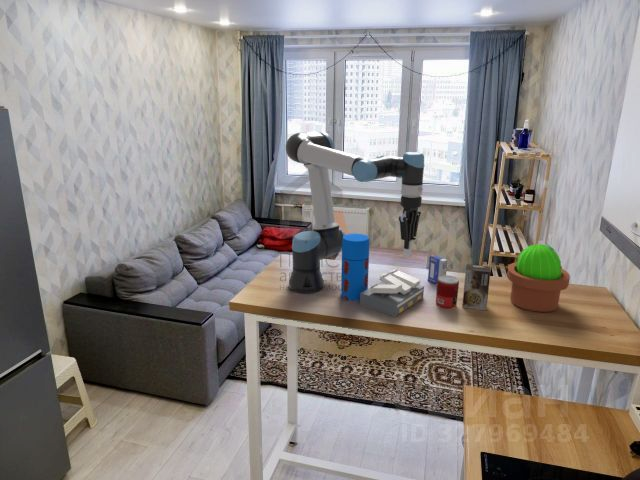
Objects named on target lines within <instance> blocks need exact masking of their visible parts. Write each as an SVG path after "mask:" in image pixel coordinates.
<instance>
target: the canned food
mask: <svg viewBox="0 0 640 480" xmlns="http://www.w3.org/2000/svg"><path fill="white" fill-rule="evenodd" d="M459 284H460V279H459V278H458V277H456V276H452V275H447V274H446V275H443V276H439V277H438V282H437V285H436V293H435V294H436V295H435V303H436V306H438V307H439V308H441V309H454V308H455V307H456V306H457V305H458V294H459V287H460V285H459Z"/></svg>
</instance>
